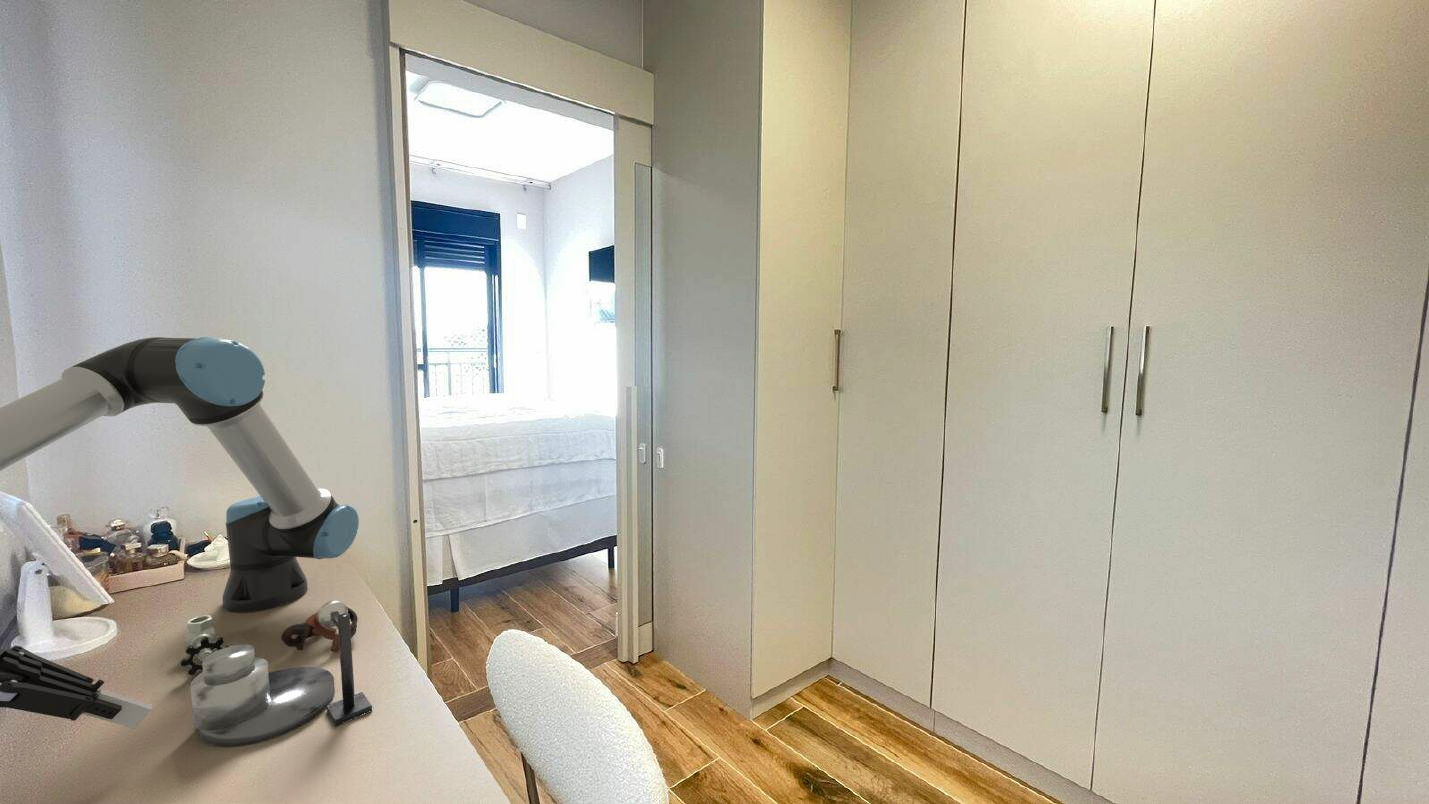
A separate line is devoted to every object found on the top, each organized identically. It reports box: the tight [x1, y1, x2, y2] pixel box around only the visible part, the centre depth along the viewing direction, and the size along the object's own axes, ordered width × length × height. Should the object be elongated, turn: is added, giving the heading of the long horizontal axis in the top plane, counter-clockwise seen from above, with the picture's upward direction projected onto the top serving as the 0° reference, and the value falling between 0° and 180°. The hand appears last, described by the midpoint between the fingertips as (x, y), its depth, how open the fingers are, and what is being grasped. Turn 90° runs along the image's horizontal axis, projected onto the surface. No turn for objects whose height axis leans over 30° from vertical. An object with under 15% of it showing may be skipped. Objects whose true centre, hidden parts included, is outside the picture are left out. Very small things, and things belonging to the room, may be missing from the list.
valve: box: [179, 614, 230, 676], centre depth 104 cm, size 7×7×12 cm
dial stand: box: [317, 599, 373, 727], centre depth 91 cm, size 10×5×16 cm, turn 47°
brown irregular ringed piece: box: [280, 606, 359, 653], centre depth 109 cm, size 12×10×8 cm
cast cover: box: [189, 644, 271, 730], centre depth 87 cm, size 9×9×9 cm
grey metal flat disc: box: [198, 666, 336, 748], centre depth 91 cm, size 17×17×2 cm
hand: (142, 716), depth 80 cm, fingers closed
